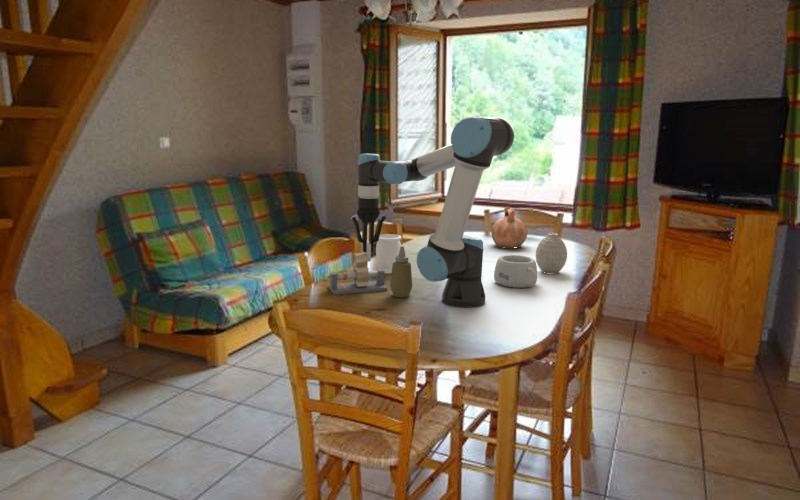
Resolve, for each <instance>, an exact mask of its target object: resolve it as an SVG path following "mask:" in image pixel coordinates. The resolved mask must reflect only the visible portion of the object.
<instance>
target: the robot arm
mask: <svg viewBox="0 0 800 500" xmlns="http://www.w3.org/2000/svg"><path fill="white" fill-rule="evenodd" d="M452 129H453V130H452V131H451V134H450V144H448V145H445V146H443V147H440V148H438V149H435V150H432V151H430V152H428V153H425V154H424V155H421V156H418V157H416V158H414V159H409V160H408V159H407V160H391V161H390V160H381V158H380V155H379V154H378V153H361V154H359V155H358V162H357V168H358V169H357V170H358V171H357V172H358V173H357V174H358V177H357V179H358V180H357V182H358V184H357V185H358V187H357V195H358V198H357V210H356V214H354V215H352V216H350V220H351V221H352V222H353V226H354V231H355V235H356V240H357V241H358V242H359V243H361V244H362V245H361V246H362V253H365V254H366V255H368V262H371V261H372V260H371V259H372V257H371V255H372V253H374V244H375V243H377V242H378V240H379V236H380V235H381V233H382V232H381V231H382V228H383V224H384V221H385V220H386V219H387V217H386V216H385V215H383V214H381V211H380V208H379V207H380V205H379V204H380V202H379V201H380V199H379V196H380V183H385V184H391V185H401V184H403V183H404V182H405V183H406V182H420V181H425V180H426V179H427V178H428V177H429V176H432V175H435V174H437V173H440V172H444V171H446V170H449V169H451V168H453V172H452V175H451V178H450V179H451V180H450V182H449V186H448V189H447V193H446V196H445V200H444V204H443V206H442V209H441V214H440V218H439V220H438V224H437V227H436V231H435V232H434V233H431V234H430V235H429V237H428V241H427V244H426V246H424V247H422V248H421V249H419V251H418V253H417V254H416V265H417V268H418V270H419V273H420V274H421V276H422V277H424V278H425V279H426V280H428V281H429V282H433V283H434V282H435V283H436V282H443V281H445V280H447V281H446V283H445V285H444V288H443V290H442V292H441V293H442V294H441V301H442V302H443V303H445V304H447V305H449V306H453V307H457V308H476V307H480V306H483V305H485V303H486V293H485V289H484V286H483V283H482V273H483V272H482V271H483V259H484V241H483V240H482V239H481V238H479V237H476V236H470V235H464V233H465V229H466V227H467V224H468V220H469V216H470V215H471V211H472V208H473V205H474V201H475V198H476V195H477V192H478V188H479V185H480V182H481V179H482V176H483V172H484V171H485V170H487V169H489V168H491V164H492V161H493V157H495V156H500V155H501V156H502V155H504V154H505V153H507V152H509V150H510V149H511V147H512V146H513V144H514V141H515V130H514V128H513V126H512V124H511V123H510V122H509V121H508V120H507V119H505V118H503V117H501V116H500V117H499V116H498V117H497V116H480V115H474V116H473V115H472V116H468V117H464V118H462V119H461V120H459V121H458V122H457V123H456V124H455V125H454V127H453V128H452ZM359 220H360V221H361V225H362V226H361V227H362V228H361V229H360V223H359ZM376 220H377V223H376V228H375V222H376ZM361 232H362V233H361Z"/></svg>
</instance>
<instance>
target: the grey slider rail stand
mask: <svg viewBox="0 0 800 500" xmlns="http://www.w3.org/2000/svg"><path fill="white" fill-rule="evenodd" d="M370 278H372V279H373V278H376V280H368V286H363V287H358V286H357V285H356V284H355V283H354V282H353V281H352V282H351V281H350V282H339V283H338V281H347V280H353V279H357V272H353V271H352V272H335V271H334V272H333V271H332V272H330V271H329V283H328V284H327V287H328V290H329V291H330V292H331V293H332V294H333V295H334V296H337V295H349V294H350V295H351V294H363V293H373V292H375V293H376V292H386V291H388V287H387V286H386V285H385V273H384V270H383V269H379V268H377V269H376V270H369V277H368V279H370Z"/></svg>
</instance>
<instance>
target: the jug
mask: <svg viewBox="0 0 800 500" xmlns="http://www.w3.org/2000/svg"><path fill="white" fill-rule="evenodd" d="M503 212H504V216H503V217H501V218H500V219H498V220H496V222H494V224H493V226H492V227H491V231H490V232H491V239H492V240H493V242H494V244H495V245H497V246H499V247H505V248H514V247H519V246H520V247H521V246H522V245H523V244H524V243H525V242H526V241H527V239H528V238H527V237H528V234H529V233H528V228H527V227H526V225H525V223H524V222H523V221H522V220H521V219H519V218H517V217H515V215H516V210H515V209H511V207H510V206H505V207H504V211H503ZM497 246H496V247H497ZM499 247H498V248H499ZM520 247H519V248H520Z"/></svg>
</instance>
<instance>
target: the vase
mask: <svg viewBox="0 0 800 500" xmlns="http://www.w3.org/2000/svg"><path fill="white" fill-rule="evenodd" d="M567 249H568V248H567V246H566V244H565V242H564V241H563V239H562V238H561V237H560V236H559V234H558V233H556V232H548V233H547V235H546V236H544V237H543V238H542V239H541V240H540V241H539V243H538V245H537V246H536V250H535V262H536V266H537V267H538V268H539V270H540V271H541V272H542V271H543V272H545V273H544V274H546V273H557V274H558V273H559V272H561V271H562V269H563V268H564V267H565V265H566V263H567V260H568V250H567ZM543 272H542V273H543Z"/></svg>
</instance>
